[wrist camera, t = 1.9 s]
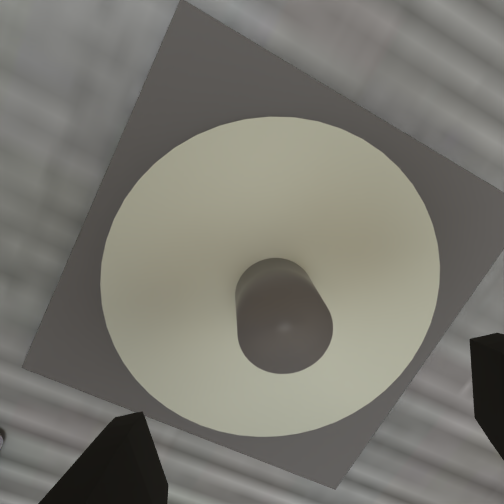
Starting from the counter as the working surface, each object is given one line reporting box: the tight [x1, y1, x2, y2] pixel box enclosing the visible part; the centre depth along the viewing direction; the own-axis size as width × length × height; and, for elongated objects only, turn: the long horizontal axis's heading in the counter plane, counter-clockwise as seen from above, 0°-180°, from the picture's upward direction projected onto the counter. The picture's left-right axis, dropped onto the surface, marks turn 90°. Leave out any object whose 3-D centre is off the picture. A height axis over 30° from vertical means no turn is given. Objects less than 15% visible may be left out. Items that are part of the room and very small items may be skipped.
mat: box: [22, 0, 504, 490], centre depth 16 cm, size 15×15×1 cm
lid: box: [100, 117, 440, 437], centre depth 14 cm, size 13×13×4 cm
